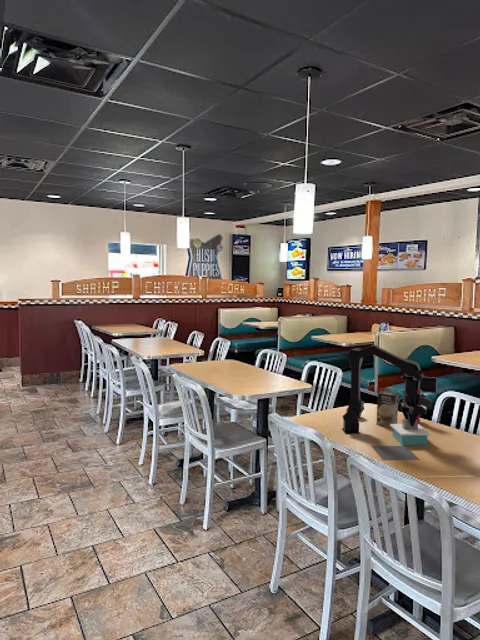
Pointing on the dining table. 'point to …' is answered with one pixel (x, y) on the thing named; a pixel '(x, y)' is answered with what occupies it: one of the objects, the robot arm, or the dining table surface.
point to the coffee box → (387, 408)
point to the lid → (409, 428)
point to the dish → (410, 439)
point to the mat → (395, 453)
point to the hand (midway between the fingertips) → (410, 424)
